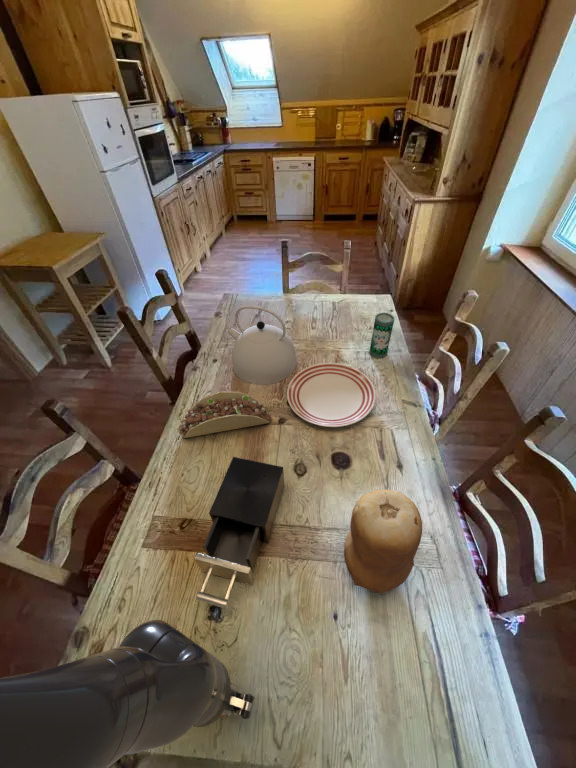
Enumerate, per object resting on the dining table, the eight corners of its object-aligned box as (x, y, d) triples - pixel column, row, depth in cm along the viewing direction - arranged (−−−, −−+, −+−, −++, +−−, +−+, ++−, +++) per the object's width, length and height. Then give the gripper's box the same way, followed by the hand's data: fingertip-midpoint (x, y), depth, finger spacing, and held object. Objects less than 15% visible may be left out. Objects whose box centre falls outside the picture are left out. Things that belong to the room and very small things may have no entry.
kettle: (215, 373, 118) (201, 318, 102) (245, 336, 133) (237, 283, 117) (281, 391, 111) (277, 335, 95) (305, 350, 126) (305, 295, 110)
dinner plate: (299, 441, 96) (299, 434, 94) (279, 377, 116) (278, 370, 113) (389, 422, 100) (391, 415, 98) (355, 363, 120) (356, 356, 117)
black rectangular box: (268, 544, 77) (265, 527, 70) (216, 530, 79) (208, 513, 73) (284, 486, 87) (283, 466, 80) (238, 476, 89) (233, 456, 83)
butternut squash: (359, 521, 80) (374, 462, 62) (415, 555, 74) (449, 501, 56) (329, 575, 72) (337, 524, 54) (389, 618, 66) (420, 577, 48)
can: (368, 357, 122) (375, 321, 111) (369, 346, 126) (375, 311, 116) (386, 359, 121) (394, 323, 110) (386, 348, 125) (394, 313, 114)
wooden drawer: (242, 618, 66) (237, 609, 61) (189, 602, 68) (179, 591, 63) (271, 522, 79) (268, 507, 74) (225, 511, 81) (220, 496, 76)
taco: (274, 431, 99) (271, 408, 92) (180, 448, 96) (170, 425, 89) (268, 407, 106) (266, 383, 99) (180, 422, 103) (171, 399, 96)
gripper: (136, 706, 45) (170, 711, 57) (238, 745, 42) (252, 742, 54) (164, 639, 50) (190, 656, 62) (256, 669, 48) (265, 682, 59)
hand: (219, 696), depth 58 cm, fingers open, 6 cm apart
